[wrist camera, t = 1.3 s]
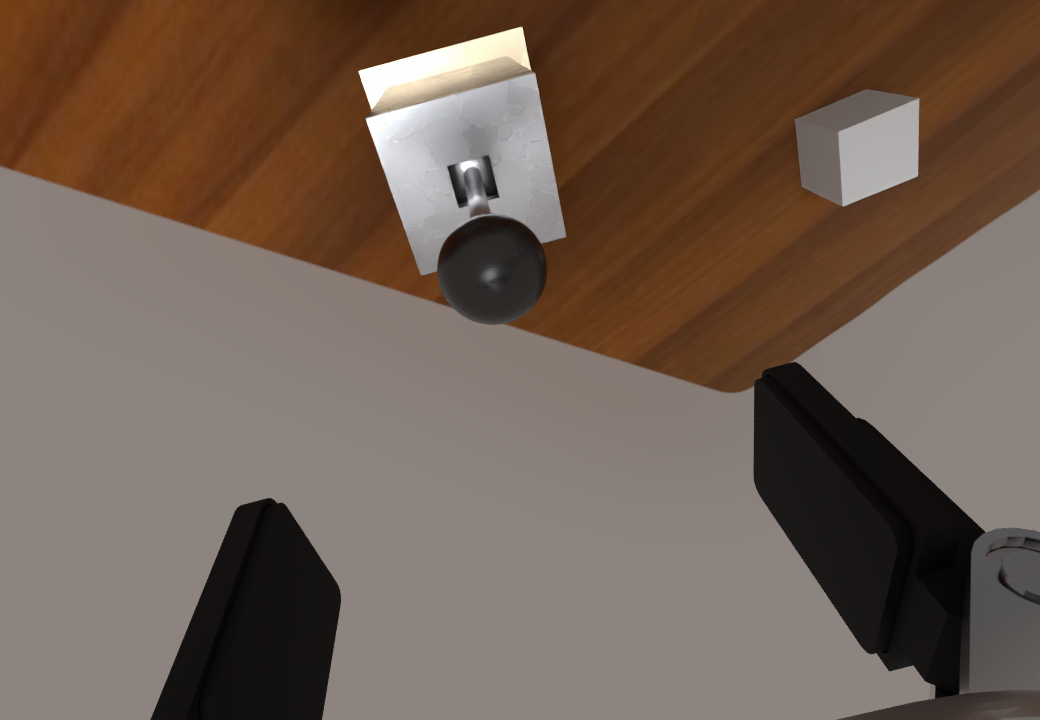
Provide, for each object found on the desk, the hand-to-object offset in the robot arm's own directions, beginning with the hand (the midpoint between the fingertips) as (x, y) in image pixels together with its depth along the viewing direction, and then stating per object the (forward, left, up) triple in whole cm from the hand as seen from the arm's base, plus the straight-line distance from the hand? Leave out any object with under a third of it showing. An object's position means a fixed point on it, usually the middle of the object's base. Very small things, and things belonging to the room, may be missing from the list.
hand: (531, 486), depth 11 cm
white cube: (-30, +8, -38) cm, 49 cm away
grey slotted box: (0, 0, -38) cm, 38 cm away
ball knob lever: (0, 0, -26) cm, 26 cm away
